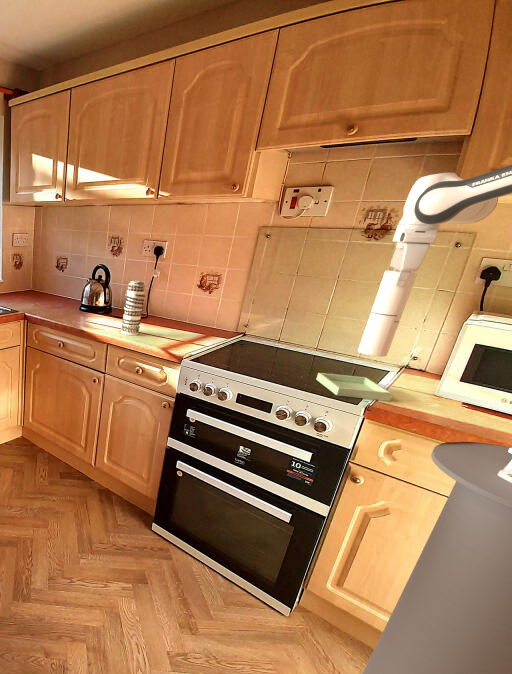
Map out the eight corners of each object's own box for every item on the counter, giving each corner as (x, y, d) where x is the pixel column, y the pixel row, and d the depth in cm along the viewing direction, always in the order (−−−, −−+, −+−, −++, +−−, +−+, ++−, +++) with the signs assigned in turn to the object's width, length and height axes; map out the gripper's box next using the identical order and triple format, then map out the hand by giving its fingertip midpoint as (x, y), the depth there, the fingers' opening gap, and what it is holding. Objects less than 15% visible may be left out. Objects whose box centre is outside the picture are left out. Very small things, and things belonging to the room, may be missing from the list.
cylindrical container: (352, 349, 137) (379, 270, 128) (377, 351, 136) (406, 271, 127) (366, 355, 131) (395, 272, 122) (392, 357, 129) (423, 273, 121)
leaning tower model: (140, 332, 210) (148, 280, 201) (138, 336, 202) (146, 282, 193) (121, 329, 213) (128, 279, 204) (118, 333, 205) (125, 281, 196)
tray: (390, 401, 132) (393, 393, 131) (336, 395, 135) (339, 387, 134) (363, 384, 146) (366, 377, 145) (316, 379, 149) (318, 372, 148)
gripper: (393, 235, 131) (378, 281, 135) (406, 235, 115) (388, 287, 120) (421, 236, 127) (404, 283, 132) (438, 236, 111) (417, 289, 116)
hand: (396, 285), depth 126 cm, fingers closed on cylindrical container, 7 cm apart
